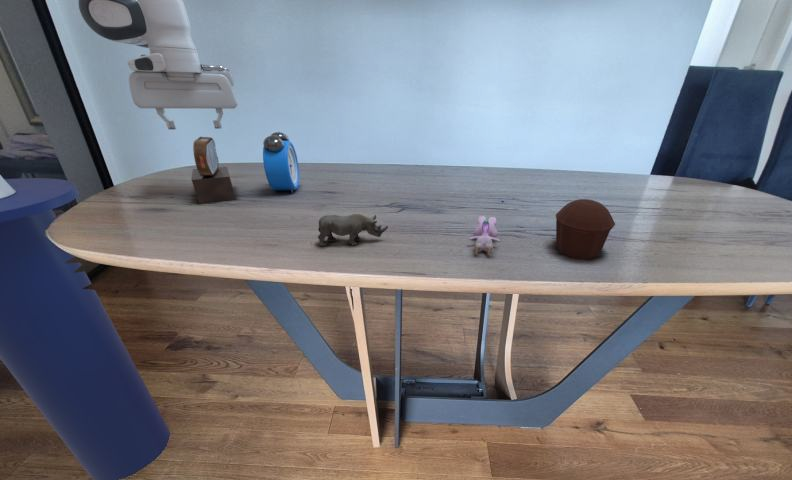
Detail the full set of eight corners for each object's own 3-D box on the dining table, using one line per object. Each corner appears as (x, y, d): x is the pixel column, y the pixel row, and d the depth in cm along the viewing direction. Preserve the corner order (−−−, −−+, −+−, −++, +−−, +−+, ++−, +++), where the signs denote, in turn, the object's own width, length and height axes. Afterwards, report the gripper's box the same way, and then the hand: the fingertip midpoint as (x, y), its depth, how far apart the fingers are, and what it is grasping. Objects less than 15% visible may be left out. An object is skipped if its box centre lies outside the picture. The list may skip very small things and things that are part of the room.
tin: (209, 166, 101) (200, 133, 97) (222, 165, 102) (213, 133, 98) (199, 180, 89) (187, 143, 85) (214, 179, 90) (203, 143, 86)
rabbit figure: (498, 263, 72) (501, 224, 83) (500, 237, 68) (503, 200, 79) (466, 261, 72) (473, 222, 84) (467, 235, 68) (474, 198, 80)
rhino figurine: (389, 244, 75) (387, 216, 72) (317, 248, 72) (312, 218, 69) (388, 236, 78) (386, 209, 75) (320, 239, 76) (315, 211, 73)
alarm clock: (293, 196, 100) (282, 138, 92) (269, 197, 99) (255, 137, 91) (302, 183, 111) (292, 130, 103) (280, 183, 110) (269, 130, 102)
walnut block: (199, 203, 92) (191, 179, 89) (199, 191, 101) (192, 169, 98) (235, 199, 96) (229, 176, 93) (232, 187, 105) (227, 166, 102)
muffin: (611, 265, 70) (625, 215, 65) (552, 259, 71) (560, 209, 66) (601, 240, 80) (612, 195, 75) (549, 236, 81) (557, 191, 76)
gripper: (229, 65, 90) (242, 126, 97) (122, 60, 81) (145, 127, 88) (231, 66, 86) (245, 129, 93) (117, 60, 76) (142, 131, 83)
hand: (195, 128), depth 90 cm, fingers open, 8 cm apart
